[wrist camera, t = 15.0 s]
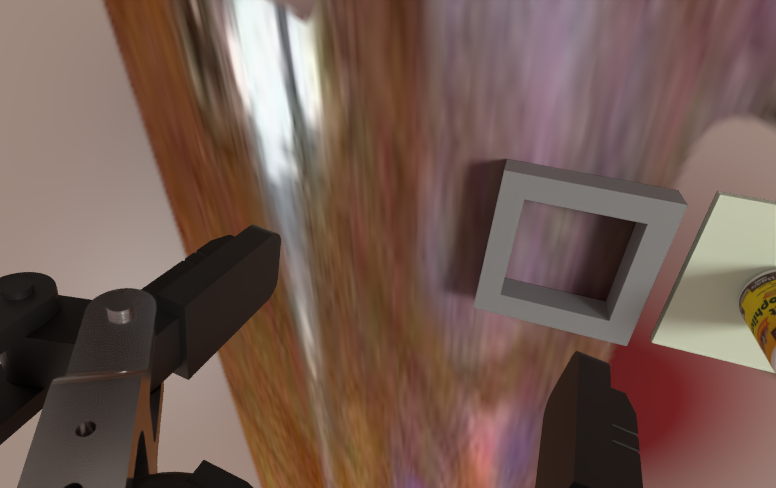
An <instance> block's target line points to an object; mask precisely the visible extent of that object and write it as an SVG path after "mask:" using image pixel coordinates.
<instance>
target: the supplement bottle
mask: <svg viewBox="0 0 776 488" xmlns="http://www.w3.org/2000/svg"><path fill="white" fill-rule="evenodd" d="M738 305H739V310H740V312H741V315H742V317H743V318H744V320H745V322H746V323H747V325H748V327H749V329H750V330H751V332H752V334H753V336H754V337H755V339H756V341H757V343H758V344H759V346H760V348H761V350H762V351H763V353H764V355H765V357H766V358H767V360H768V362H769V363H770V365H771V367H772V369H773V371H774V372H775V374H776V269H774V270H770V271H767V272H764V273H762V274H759V275H758V276H756V277H754V278H753V279H751V280H750V281H749V282H748V283H747V284H746V285H745V286H744V288H743V289H742V291H741V293H740V296H739V301H738Z"/></svg>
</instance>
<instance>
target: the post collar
mask: <svg viewBox="0 0 776 488" xmlns="http://www.w3.org/2000/svg"><path fill="white" fill-rule="evenodd" d="M524 200H530V201H535V202H540V203H545V204H550V205H555V206H560V207H565V208H570V209H575V210H580V211H585V212H590V213H595V214H600V215H605V216H610V217H615V218H620V219H625V220H630V221H635V222H636V224H635V227H634V230H633V232H632V235H631V237H630V240H629V243H628V245H627V248H626V250H625V253H624V256H623V258H622V261H621V263H620V266H619V269H618V271H617V274H616V276H615V279H614V282H613V284H612V287H611V289H610V292H609V295H608V297H607V300H606V301H601V300H597V299H593V298H589V297H584V296H580V295H576V294H572V293H567V292H563V291H559V290H555V289H550V288H546V287H542V286H538V285H533V284H529V283H525V282H521V281H516V280H512V279H508V278H505V274H506V270H507V267H508V263H509V259H510V255H511V251H512V247H513V243H514V239H515V235H516V231H517V227H518V223H519V219H520V215H521V211H522V207H523V203H524ZM687 206H688V205H687V203H686V202H685V200H684V198H683V197H682V195H681V194H680V192H679V191H678V190H673V189H668V188H662V187H657V186H652V185H646V184H641V183H635V182H630V181H624V180H619V179H613V178H608V177H603V176H597V175H592V174H586V173H581V172H575V171H570V170H565V169H559V168H554V167H548V166H543V165H537V164H532V163H527V162H521V161H516V160H510V159H507V162H506V165H505V169H504V173H503V178H502V182H501V187H500V191H499V195H498V200H497V204H496V209H495V213H494V218H493V222H492V227H491V231H490V236H489V240H488V244H487V249H486V253H485V258H484V262H483V267H482V271H481V276H480V280H479V284H478V289H477V293H476V298H475V302H474V307H473V308H477V309H481V310H485V311H489V312H493V313H497V314H501V315H505V316H509V317H513V318H517V319H521V320H525V321H529V322H533V323H537V324H541V325H545V326H549V327H553V328H557V329H561V330H565V331H568V332H572V333H576V334H580V335H584V336H588V337H592V338H596V339H600V340H604V341H608V342H612V343H616V344H620V345H625V346H627V344H628V342H629V340H630V337H631V335H632V332H633V330H634V328H635V326H636V323H637V321H638V319H639V317H640V314H641V312H642V310H643V307H644V305H645V303H646V300H647V298H648V296H649V293H650V291H651V288H652V287H653V284H654V282H655V279H656V277H657V275H658V273H659V270H660V268H661V265H662V263H663V261H664V259H665V256H666V254H667V252H668V250H669V247H670V245H671V242H672V240H673V238H674V236H675V233H676V231H677V229H678V226H679V224H680V221H681V220H682V217H683V215H684V213H685V210H686V208H687Z"/></svg>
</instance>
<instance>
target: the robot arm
mask: <svg viewBox="0 0 776 488" xmlns="http://www.w3.org/2000/svg"><path fill="white" fill-rule="evenodd" d="M280 246H281V238H280V235H279V234H277V233H275V232H272V231H270V230H267V229H264V228H262V227H259V226H257V225H251V226H249V227H248V228H246V229H245V230H243V231H242V232H241V233H239V234H238V235H237V236H235V237H234V236H232V235H227V236H224V237H221V238H218V239H215V240H211V241H210V242H208V243H207V244H205V245H204V246H203V247H201V248H200V249H198V250H197V252H196V253H193V254H191V255H190V256H188V257H187V258H185V261H181V262H180V263H178V264H177V265H176V266H174V267H173V268H171V269H170V270H168V271H167V272H165V273H164V274H163V275H161V276H160V277H158V278H157V279H155V280H154V281H153V282H151V283H150V284H148V285H147V286H146V287H144V288H143V289H141V290H139V289H132V288H124V289H116V290H112V291H108V292H106V293H103V294H101V295H99V296H97V297H96V298H94V299H93V300H89V299H82V298H75V297H68V296H62V295H58V291H57V286H56V283H55V281H54V280H53V279H52V278H51V277H49V276H47V275H45V274H41V273H36V272H22V273H15V274H10V275H6V276H3V277H1V278H0V362H1V364H0V445H1V444H2V443H3V442H4V441H5V440H7V439H8V438H9V437H10V436H11V435H12V434H13V433H15V432H16V431H17V430H18V429H19V428H21V426H23V425H24V424H25V423H26V422H27V421H29V420H30V419H31V418H32V417H33V416H34V415H36V414H37V413H38V412H39V411H40V410H41V409H42V412H41V415H40V418H39V421H38V424H37V427H36V431H35V434H34V437H33V440H32V443H31V446H30V449H29V452H28V455H27V458H26V461H25V464H24V467H23V471H22V474H21V477H20V480H19V483H18V486H17V488H253V487H252V486H251V485H250V484H249V483H248V482H246V481H244V480H243V479H241V478H238V477H237V476H234V475H233V474H231V473H229V472H227V471H225V470H223V469H221V468H219V467H217V466H215V465H213V464H211V463H209V462H207V461H205V460H203V461H202V463H201V464H200V465H199V466H198V468H197V469H196V470H195V471H194V473H184V472H162V473H157V456H158V443H159V433H160V422H161V412H162V402H163V392H164V382H163V381H164V380H165V379H166V378H168V376H170V375H171V374H172V373H175V374H177V375H179V376H181V377H183V378H186V379H188V380H189V379H190V378H191V377H192V376H193V375H194V374H195V373H196V372H197V371H198V370H199V369H200V368H201V367H202V366H203V365H204V364H205V363H206V362H207V361H208V360H209V359H210V358H211V357H212V356H213V355H214V354H215V353H216V352H217V351H218V350H219V349H220V348H221V347H222V346H223V345H224V344H225V343H226V342H227V341H228V340H229V339H230V338H231V337H232V336H233V335H234V334H235V333H236V332H237V331H238V330H239V329H240V328H241V327H242V326H243V325H244V324H245V323H246V322H247V321H248V320H249V319H250V318H251V317H252V316H253V315H254V314H255V313H256V312H257V311H258V310H259V309H260V308H261V307H262V306H263V305H264V304H265V303H266V302H267V301H268V299H269V298H270V297H271V295H272V294H273V292H274V290H275V287H276V284H277V280H278V270H279V258H280ZM637 435H638V428H637V417H636V413H635V411H634V409H633V407H632V405H631V403H630V401H629V399H628V397H627V396H626V394H625V393H623V392H621V391H618V390H616V389H613V388H611V377H610V365H609V363H607V362H604V361H602V360H599V359H596V358H594V357H591V356H589V355H586V354H584V353H581V352H578V351H576V352H575V353H574V354H573V356H572V357H571V359H570V361H569V363H568V364H567V366H566V368H565V370H564V371H563V373H562V375H561V377H560V378H559V380H558V382H557V384H556V385H555V387H554V389H553V391H552V393H551V395H550V397H549V399H548V402H547V405H546V408H545V412H544V417H543V425H542V434H541V443H540V451H539V460H538V468H537V477H536V485H535V488H643V483H642V473H641V462H640V454H638V452H639V439H638V437H637Z"/></svg>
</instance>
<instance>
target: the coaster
mask: <svg viewBox="0 0 776 488" xmlns="http://www.w3.org/2000/svg"><path fill="white" fill-rule="evenodd" d="M774 269H776V201H770V200H765V199H759V198H753V197H748V196H742V195H736V194H731V193H726V192H720V191H717V193H716V194H715V197H714V199H713V201H712V203H711V206H710V207H709V210H708V212H707V214H706V216H705V219H704V221H703V223H702V225H701V227H700V229H699V232H698V234H697V236H696V238H695V240H694V242H693V245H692V247H691V249H690V251H689V253H688V256H687V258H686V260H685V262H684V264H683V266H682V269H681V271H680V273H679V275H678V277H677V280H676V282H675V284H674V286H673V288H672V291H671V293H670V295H669V297H668V300H667V301H666V304H665V306H664V308H663V310H662V312H661V315H660V317H659V319H658V321H657V323H656V325H655V328H654V330H653V332H652V334H651V337H650V338H651V342H652V343H656V344H660V345H664V346H668V347H672V348H676V349H680V350H684V351H688V352H692V353H696V354H700V355H704V356H708V357H712V358H716V359H720V360H725V361H728V362H733V363H737V364H740V365H745V366H749V367H753V368H757V369H761V370H765V371H769V372H773V373H775V372H774V371H773V369H772V367H771V365H770V363H769V362H768V360H767V358H766V357H765V355H764V353H763V351H762V350H761V348H760V346H759V344H758V343H757V341H756V339H755V337H754V336H753V334H752V332H751V330H750V329H749V327H748V325H747V323H746V322H745V320H744V318H743V317H742V315H741V312H740V310H739V305H738V301H739V296H740V293H741V291H742V289H743V288H744V286H745V285H746V284H747V283H748V282H749V281H750V280H751V279H753V278H754V277H756V276H758V275H759V274H762V273H764V272H767V271H770V270H774Z"/></svg>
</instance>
